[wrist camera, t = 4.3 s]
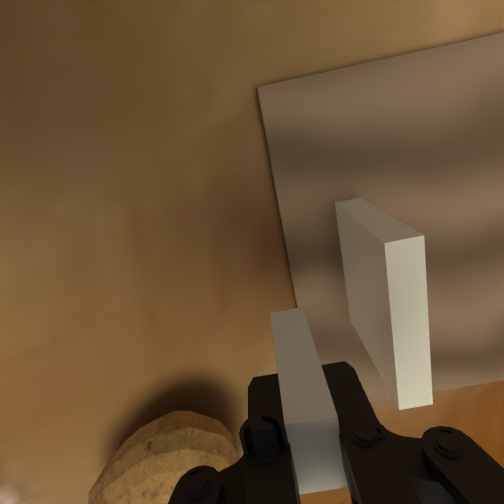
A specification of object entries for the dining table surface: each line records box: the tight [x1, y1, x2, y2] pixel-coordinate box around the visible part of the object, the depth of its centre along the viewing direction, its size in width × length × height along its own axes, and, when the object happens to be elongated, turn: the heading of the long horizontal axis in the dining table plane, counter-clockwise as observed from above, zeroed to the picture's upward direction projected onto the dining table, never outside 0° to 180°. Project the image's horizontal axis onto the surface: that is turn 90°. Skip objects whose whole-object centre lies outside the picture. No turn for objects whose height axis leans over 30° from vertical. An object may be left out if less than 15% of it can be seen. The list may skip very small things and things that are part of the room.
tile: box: [335, 198, 433, 410], centre depth 19 cm, size 8×2×8 cm, turn 12°
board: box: [257, 32, 504, 403], centre depth 23 cm, size 22×16×1 cm
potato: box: [88, 410, 240, 504], centre depth 25 cm, size 10×14×8 cm
